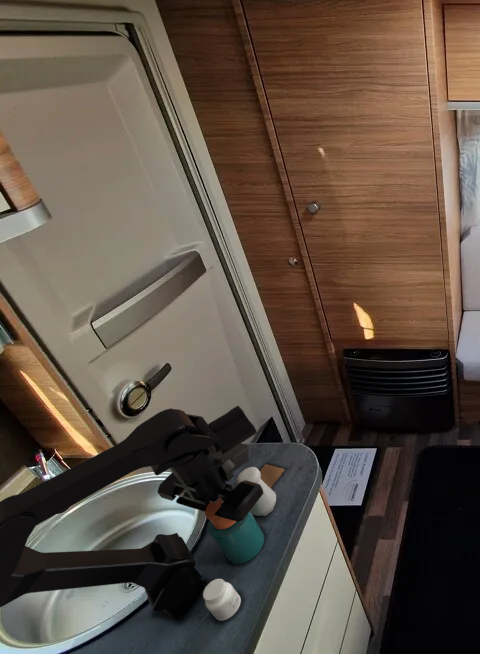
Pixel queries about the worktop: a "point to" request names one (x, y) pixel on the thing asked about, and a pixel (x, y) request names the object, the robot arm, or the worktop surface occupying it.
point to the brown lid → (216, 520)
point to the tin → (239, 539)
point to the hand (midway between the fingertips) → (226, 514)
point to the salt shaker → (268, 497)
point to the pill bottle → (221, 599)
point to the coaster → (270, 474)
